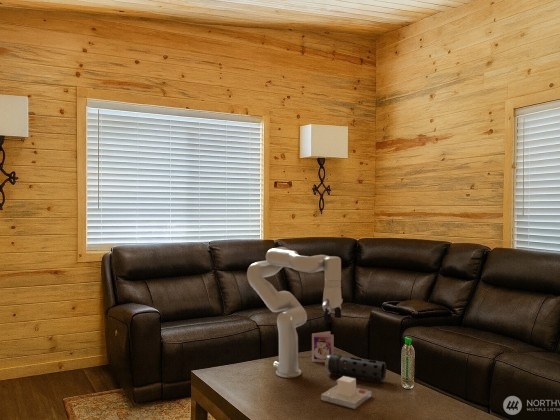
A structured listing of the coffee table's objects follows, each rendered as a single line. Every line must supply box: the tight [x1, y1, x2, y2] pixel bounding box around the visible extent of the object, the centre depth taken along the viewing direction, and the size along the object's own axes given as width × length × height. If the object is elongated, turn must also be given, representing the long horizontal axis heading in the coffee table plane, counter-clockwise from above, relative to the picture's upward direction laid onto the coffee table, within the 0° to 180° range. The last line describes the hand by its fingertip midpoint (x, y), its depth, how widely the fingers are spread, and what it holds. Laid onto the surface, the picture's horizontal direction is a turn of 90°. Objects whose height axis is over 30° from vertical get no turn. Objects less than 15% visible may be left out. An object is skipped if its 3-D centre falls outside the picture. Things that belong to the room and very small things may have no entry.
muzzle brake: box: [324, 353, 387, 384], centre depth 241 cm, size 10×28×10 cm, turn 62°
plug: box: [335, 376, 357, 397], centre depth 217 cm, size 8×6×8 cm
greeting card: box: [311, 330, 335, 363], centre depth 267 cm, size 11×7×15 cm, turn 81°
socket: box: [320, 383, 372, 410], centre depth 217 cm, size 16×16×3 cm
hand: (332, 319), depth 233 cm, fingers open, 9 cm apart
